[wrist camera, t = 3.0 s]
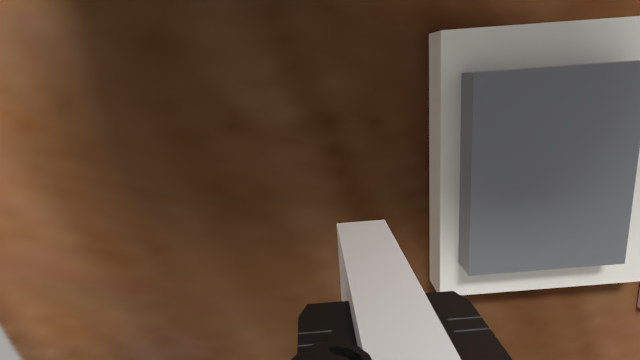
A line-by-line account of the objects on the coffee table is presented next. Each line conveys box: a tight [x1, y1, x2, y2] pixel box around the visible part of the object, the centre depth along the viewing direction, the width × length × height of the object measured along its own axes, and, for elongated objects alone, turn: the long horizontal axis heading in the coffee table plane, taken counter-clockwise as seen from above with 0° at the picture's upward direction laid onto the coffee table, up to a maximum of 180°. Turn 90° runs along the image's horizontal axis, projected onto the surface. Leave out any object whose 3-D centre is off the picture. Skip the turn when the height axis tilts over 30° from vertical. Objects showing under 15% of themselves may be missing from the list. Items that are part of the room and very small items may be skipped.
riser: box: [429, 16, 640, 295], centre depth 22 cm, size 14×12×2 cm
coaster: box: [458, 60, 640, 276], centre depth 20 cm, size 10×8×2 cm
